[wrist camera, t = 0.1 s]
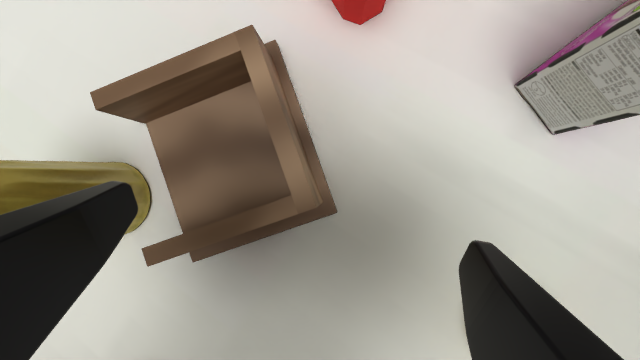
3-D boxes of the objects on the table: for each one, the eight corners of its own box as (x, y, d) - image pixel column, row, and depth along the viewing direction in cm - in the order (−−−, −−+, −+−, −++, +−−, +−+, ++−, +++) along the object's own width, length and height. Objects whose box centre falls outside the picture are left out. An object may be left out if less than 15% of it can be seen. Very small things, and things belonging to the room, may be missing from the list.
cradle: (337, 211, 22) (334, 221, 17) (196, 260, 23) (153, 283, 18) (277, 44, 23) (256, 3, 17) (143, 99, 24) (84, 76, 18)
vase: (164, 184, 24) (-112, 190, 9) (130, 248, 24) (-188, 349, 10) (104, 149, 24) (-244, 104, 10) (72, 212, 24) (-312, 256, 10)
